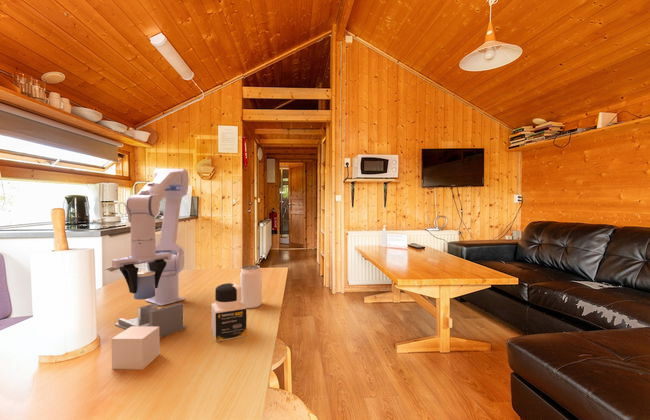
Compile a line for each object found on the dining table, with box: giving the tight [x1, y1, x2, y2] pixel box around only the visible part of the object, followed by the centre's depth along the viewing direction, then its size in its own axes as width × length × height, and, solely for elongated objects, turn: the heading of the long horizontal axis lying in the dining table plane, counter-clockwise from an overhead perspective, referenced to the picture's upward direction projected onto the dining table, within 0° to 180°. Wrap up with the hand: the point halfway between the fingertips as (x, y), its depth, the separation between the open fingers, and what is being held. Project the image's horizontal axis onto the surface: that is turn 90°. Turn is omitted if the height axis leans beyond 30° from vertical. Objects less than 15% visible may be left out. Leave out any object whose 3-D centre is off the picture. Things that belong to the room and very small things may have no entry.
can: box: [239, 264, 263, 310], centre depth 98 cm, size 6×6×12 cm
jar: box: [133, 270, 155, 301], centre depth 84 cm, size 5×5×6 cm
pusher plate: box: [137, 303, 159, 326], centre depth 81 cm, size 1×4×4 cm, turn 147°
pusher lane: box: [114, 302, 187, 339], centre depth 81 cm, size 17×9×6 cm, turn 57°
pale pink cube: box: [111, 326, 161, 370], centre depth 63 cm, size 6×6×6 cm
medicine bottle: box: [210, 282, 248, 343], centre depth 76 cm, size 7×7×12 cm
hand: (143, 290), depth 84 cm, fingers closed on jar, 5 cm apart
